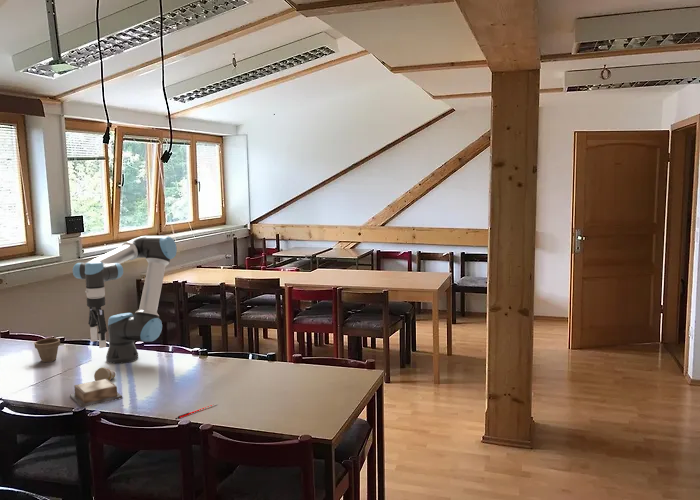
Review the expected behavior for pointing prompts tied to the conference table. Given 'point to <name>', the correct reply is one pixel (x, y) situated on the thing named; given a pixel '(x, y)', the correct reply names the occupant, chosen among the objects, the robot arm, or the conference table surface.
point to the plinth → (95, 393)
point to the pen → (189, 413)
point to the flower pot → (47, 349)
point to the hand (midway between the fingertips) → (98, 344)
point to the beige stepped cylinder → (104, 374)
